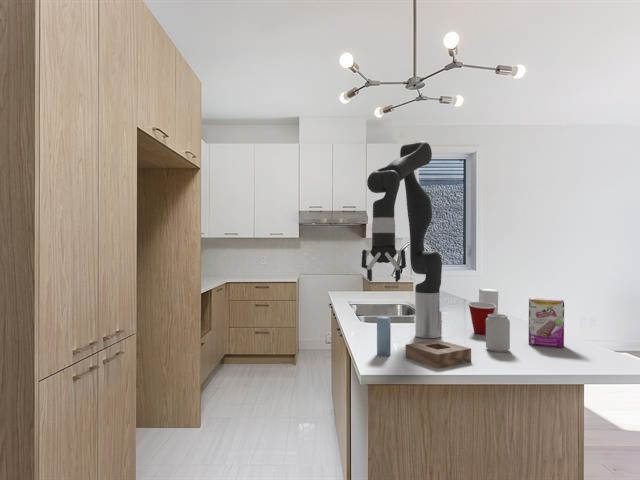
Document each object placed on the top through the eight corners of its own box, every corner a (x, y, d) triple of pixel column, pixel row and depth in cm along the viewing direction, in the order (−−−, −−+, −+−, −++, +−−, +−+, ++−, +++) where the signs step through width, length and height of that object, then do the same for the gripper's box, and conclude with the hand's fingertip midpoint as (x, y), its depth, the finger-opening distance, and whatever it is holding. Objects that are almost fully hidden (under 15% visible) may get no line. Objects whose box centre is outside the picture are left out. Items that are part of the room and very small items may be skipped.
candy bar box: (528, 345, 151) (528, 299, 151) (528, 342, 155) (528, 297, 156) (564, 348, 146) (564, 300, 146) (563, 345, 151) (563, 299, 151)
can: (508, 348, 146) (508, 313, 146) (510, 353, 139) (510, 317, 139) (485, 346, 149) (485, 312, 149) (486, 352, 141) (486, 316, 142)
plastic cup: (475, 336, 165) (475, 305, 165) (463, 330, 176) (463, 301, 176) (501, 335, 166) (501, 305, 166) (488, 330, 177) (488, 301, 177)
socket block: (437, 351, 142) (437, 339, 142) (471, 361, 130) (471, 348, 130) (405, 357, 135) (405, 344, 135) (438, 368, 123) (438, 354, 123)
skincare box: (478, 322, 195) (478, 288, 196) (493, 322, 195) (492, 288, 195) (483, 325, 187) (483, 290, 187) (498, 325, 186) (498, 290, 187)
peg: (384, 352, 141) (384, 316, 141) (393, 355, 137) (393, 318, 138) (374, 353, 139) (374, 317, 139) (382, 357, 135) (382, 319, 135)
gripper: (406, 232, 140) (406, 281, 140) (363, 232, 144) (363, 280, 144) (404, 231, 133) (404, 283, 133) (360, 231, 137) (360, 281, 137)
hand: (383, 281), depth 139 cm, fingers open, 8 cm apart
